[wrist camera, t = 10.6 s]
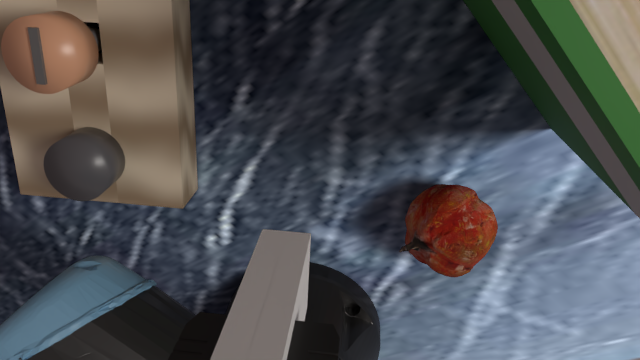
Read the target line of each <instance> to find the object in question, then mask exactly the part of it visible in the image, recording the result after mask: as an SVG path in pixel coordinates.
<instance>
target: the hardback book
mask: <svg viewBox="0 0 640 360" xmlns="http://www.w3.org/2000/svg"><path fill="white" fill-rule="evenodd" d="M463 1H464V2H465V4H466V5H467V7H468V8H469V10H470V11H471V13H472V14H473V16H474V17H475V18H476V20H477V21H478V23H479V24H480V26H481V27H482V29H483V30H484V32H485V33H486V34H487V36H488V37H489V39H490V40H491V42H492V43H493V45H494V46H495V48H496V49H497V50H498V52H499V53H500V55H501V56H502V58H503V59H504V61H505V62H506V64H507V65H508V67H509V68H510V69H511V71H512V72H513V74H514V75H515V77H516V78H517V80H518V81H519V83H520V84H521V85H522V87H523V88H524V90H525V91H526V93H527V94H528V96H529V97H530V99H531V100H532V101H533V103H534V104H535V106H536V107H537V109H538V110H539V112H540V113H541V115H542V116H543V117H544V119H545V120H546V122H547V123H548V125H549V126H550V128H551V129H552V130H553V131H554V132H555V133H556V134H557V135H558V136H559V137H560V138H561V139H562V140H563V141H564V142H565V143H566V144H567V145H568V146H569V147H570V148H571V149H572V150H573V151H574V152H575V153H576V154H577V155H578V156H579V157H580V158H581V159H582V160H583V161H584V162H585V163H586V164H587V165H588V166H589V167H590V168H591V169H592V170H593V172H594V173H595V174H596V175H597V176H598V177H599V178H600V179H601V180H602V181H603V182H604V183H605V184H606V185H607V186H608V187H609V188H610V189H611V190H612V191H613V192H614V193H615V194H616V195H617V196H618V197H619V198H620V199H621V200H622V201H623V202H624V203H625V204H626V205H627V206H628V207H629V208H630V209H631V210H632V211H633V212H634V213H635V214H636V215H637V216H638V217H639V218H640V0H463Z"/></svg>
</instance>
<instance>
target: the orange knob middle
mask: <svg viewBox="0 0 640 360" xmlns="http://www.w3.org/2000/svg"><path fill="white" fill-rule="evenodd" d="M101 49H102V47H101V38H100V31H99V30H98V29H97V28H95V27H92V26H87V25H86V24H85V23H84V22H83V21H81V20H80V19H79V18H77V17H76V16H74V15H72V14H70V13H67V12H63V11H50V12H44V13H39V14H34V15H29V16H23V17H20V18H18V19H16V20H14V21H13V22H11V23H10V24H9V25H8V26H7V28H6V29H5V31H4V33H3V37H2V42H1V51H2V56H3V60H4V62H5V65H6V67H7V69H8V70H9V72H10V73H11V75H12V76H13V77H14V78H15V79H16V80H17V81H18V82H19V83H20V84H21V85H23V86H24V87H26V88H27V89H29V90H31V91H34V92H37V93H41V94H54V93H58V92H60V91H62V90H64V89H67V88H69V87H71V86H73V85H76V84H78V83H80V82H82V81H84V80H86V79H88V78H89V77H90V76H91V75H92V74H93V72H94V71H95V69H96V66H97V63H98V56H99V54H98V52H99V51H100V50H101Z"/></svg>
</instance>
